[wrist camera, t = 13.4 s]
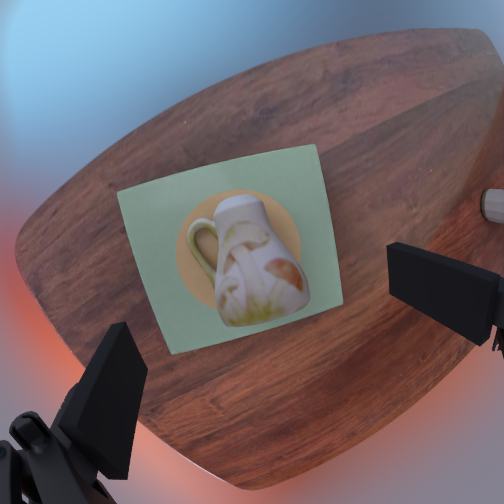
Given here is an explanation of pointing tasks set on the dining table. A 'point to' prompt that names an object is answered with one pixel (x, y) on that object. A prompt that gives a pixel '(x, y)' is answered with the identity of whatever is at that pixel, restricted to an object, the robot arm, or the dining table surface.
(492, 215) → the bottle
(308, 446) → the dining table surface
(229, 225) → the mug
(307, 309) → the shelf
